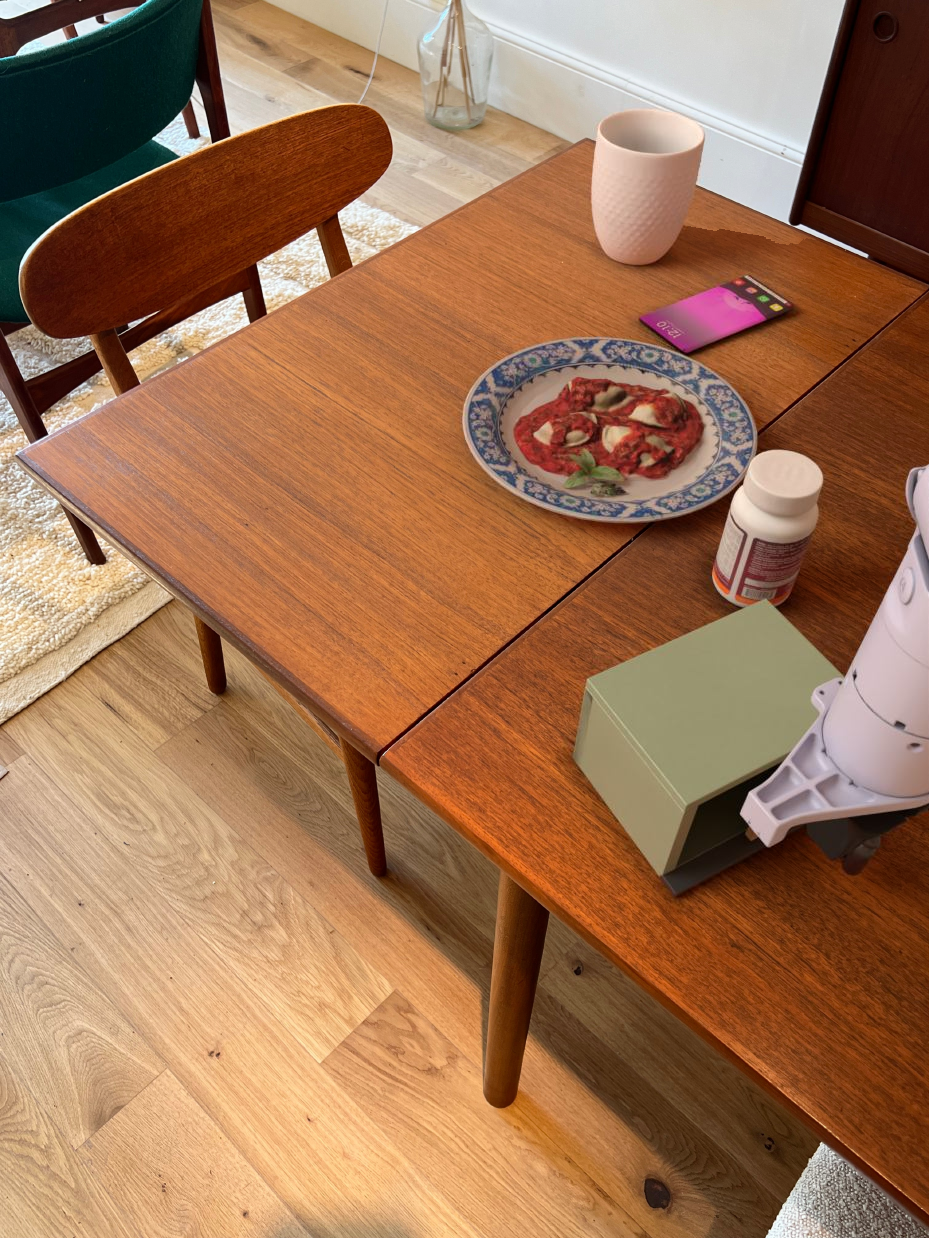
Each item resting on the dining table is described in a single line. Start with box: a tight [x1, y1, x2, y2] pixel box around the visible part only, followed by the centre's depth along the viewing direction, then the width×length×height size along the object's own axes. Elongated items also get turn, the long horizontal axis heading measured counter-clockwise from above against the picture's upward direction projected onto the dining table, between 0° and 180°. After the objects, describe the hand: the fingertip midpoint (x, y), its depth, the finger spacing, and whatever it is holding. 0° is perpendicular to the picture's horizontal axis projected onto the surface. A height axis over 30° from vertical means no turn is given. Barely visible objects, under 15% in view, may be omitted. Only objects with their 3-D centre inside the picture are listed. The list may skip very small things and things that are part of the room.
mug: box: [590, 108, 706, 266], centre depth 107 cm, size 15×11×13 cm
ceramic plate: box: [461, 336, 758, 524], centre depth 88 cm, size 26×26×3 cm
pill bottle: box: [712, 449, 824, 609], centre depth 73 cm, size 6×6×11 cm
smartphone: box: [638, 274, 795, 355], centre depth 102 cm, size 7×15×1 cm, turn 122°
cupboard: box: [572, 599, 845, 898], centre depth 63 cm, size 11×14×9 cm
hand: (828, 840), depth 53 cm, fingers closed
